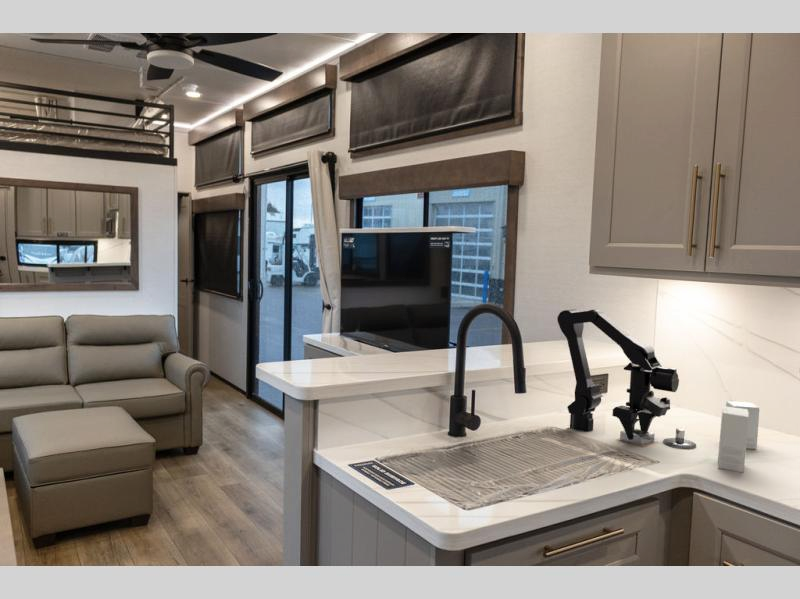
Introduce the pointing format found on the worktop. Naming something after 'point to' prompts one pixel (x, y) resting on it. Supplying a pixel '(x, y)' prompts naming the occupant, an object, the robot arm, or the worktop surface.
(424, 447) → the worktop surface
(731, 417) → the skincare box
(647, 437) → the collar
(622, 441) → the stand
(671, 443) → the hub
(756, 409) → the supplement box
